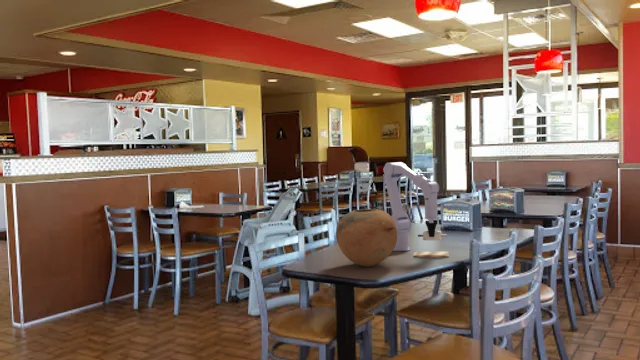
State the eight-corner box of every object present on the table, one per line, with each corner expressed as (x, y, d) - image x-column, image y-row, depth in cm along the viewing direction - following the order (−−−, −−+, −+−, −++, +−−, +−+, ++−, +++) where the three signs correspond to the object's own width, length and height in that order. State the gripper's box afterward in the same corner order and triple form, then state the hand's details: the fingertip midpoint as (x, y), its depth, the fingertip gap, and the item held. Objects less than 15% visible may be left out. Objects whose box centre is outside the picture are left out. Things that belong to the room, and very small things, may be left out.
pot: (320, 266, 248) (318, 210, 246) (361, 256, 266) (359, 204, 265) (375, 276, 225) (373, 214, 224) (415, 264, 244) (413, 207, 243)
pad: (413, 257, 261) (413, 255, 261) (414, 253, 271) (414, 251, 271) (448, 257, 258) (448, 255, 258) (448, 253, 268) (448, 251, 268)
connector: (417, 240, 264) (417, 232, 264) (418, 239, 268) (417, 230, 268) (446, 240, 262) (446, 231, 261) (446, 239, 265) (446, 230, 265)
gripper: (439, 209, 256) (440, 238, 257) (439, 205, 270) (440, 233, 271) (424, 209, 257) (424, 238, 258) (424, 206, 272) (425, 233, 272)
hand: (431, 236), depth 265 cm, fingers closed on connector, 3 cm apart
